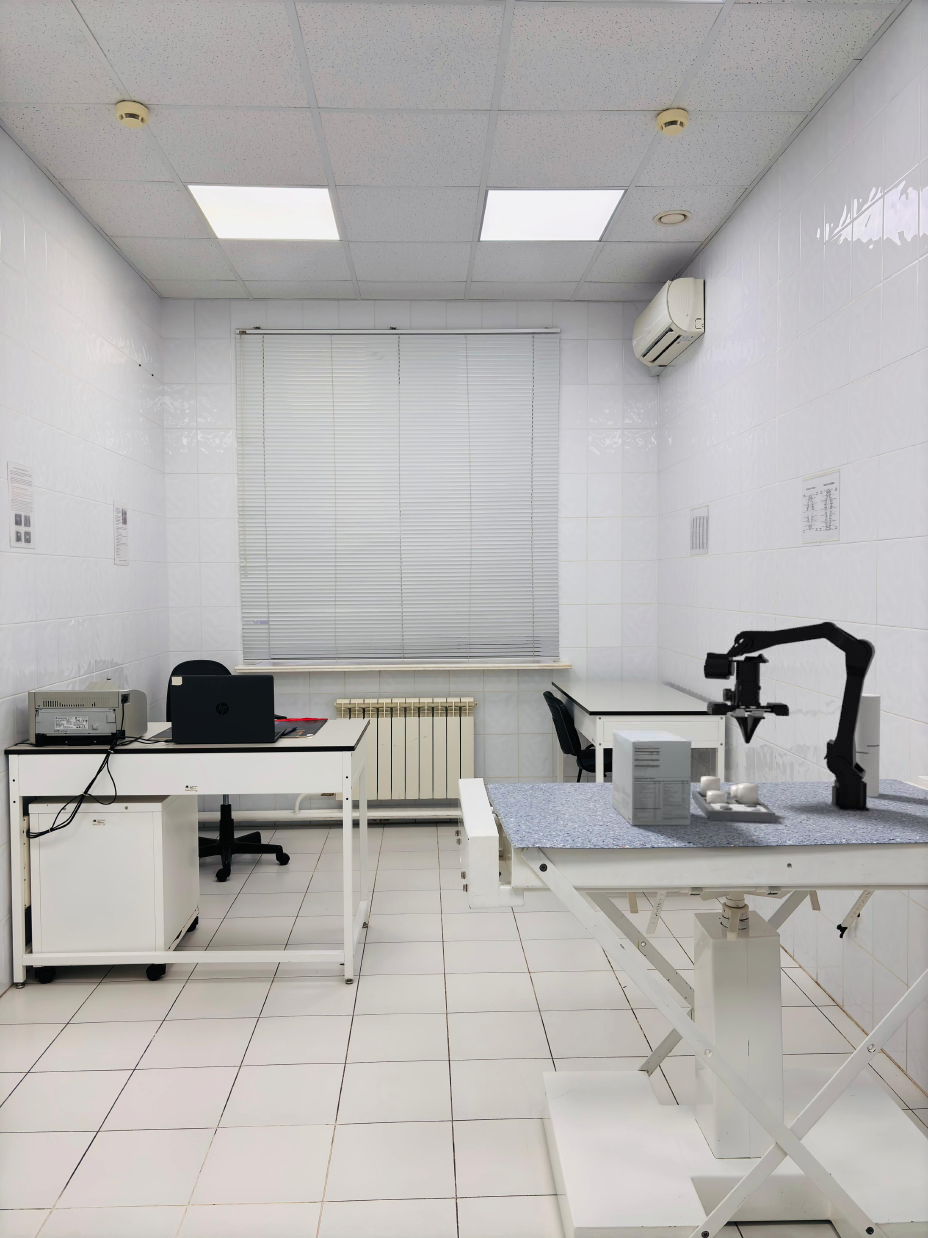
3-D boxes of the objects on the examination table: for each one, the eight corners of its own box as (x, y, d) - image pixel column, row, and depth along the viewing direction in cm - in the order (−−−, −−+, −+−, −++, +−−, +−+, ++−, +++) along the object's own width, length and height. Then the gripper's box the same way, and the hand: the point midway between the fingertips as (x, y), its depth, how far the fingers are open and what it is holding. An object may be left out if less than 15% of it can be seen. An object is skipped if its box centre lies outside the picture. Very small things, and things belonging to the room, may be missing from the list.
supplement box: (692, 826, 172) (693, 741, 171) (630, 826, 171) (631, 741, 171) (666, 806, 189) (667, 729, 189) (610, 807, 188) (611, 729, 188)
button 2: (724, 808, 187) (724, 790, 187) (728, 812, 183) (728, 795, 183) (704, 807, 188) (704, 790, 188) (708, 812, 183) (708, 794, 183)
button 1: (717, 793, 194) (717, 776, 194) (721, 797, 190) (721, 780, 190) (698, 792, 195) (699, 776, 195) (702, 796, 190) (702, 779, 190)
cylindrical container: (884, 797, 201) (886, 696, 200) (855, 796, 201) (857, 696, 200) (870, 790, 208) (871, 693, 208) (842, 790, 208) (843, 693, 208)
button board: (751, 800, 195) (751, 790, 195) (775, 822, 175) (775, 811, 175) (691, 798, 197) (692, 789, 197) (708, 820, 177) (709, 809, 177)
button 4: (755, 800, 187) (755, 783, 187) (760, 805, 182) (760, 787, 182) (735, 800, 187) (736, 783, 187) (740, 804, 183) (740, 787, 183)
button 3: (747, 802, 194) (747, 785, 194) (752, 806, 189) (752, 789, 189) (728, 801, 194) (728, 784, 194) (733, 805, 190) (733, 788, 190)
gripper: (775, 678, 209) (775, 739, 209) (702, 677, 210) (701, 737, 210) (790, 682, 198) (789, 746, 198) (712, 681, 199) (711, 744, 199)
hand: (747, 743), depth 201 cm, fingers closed
